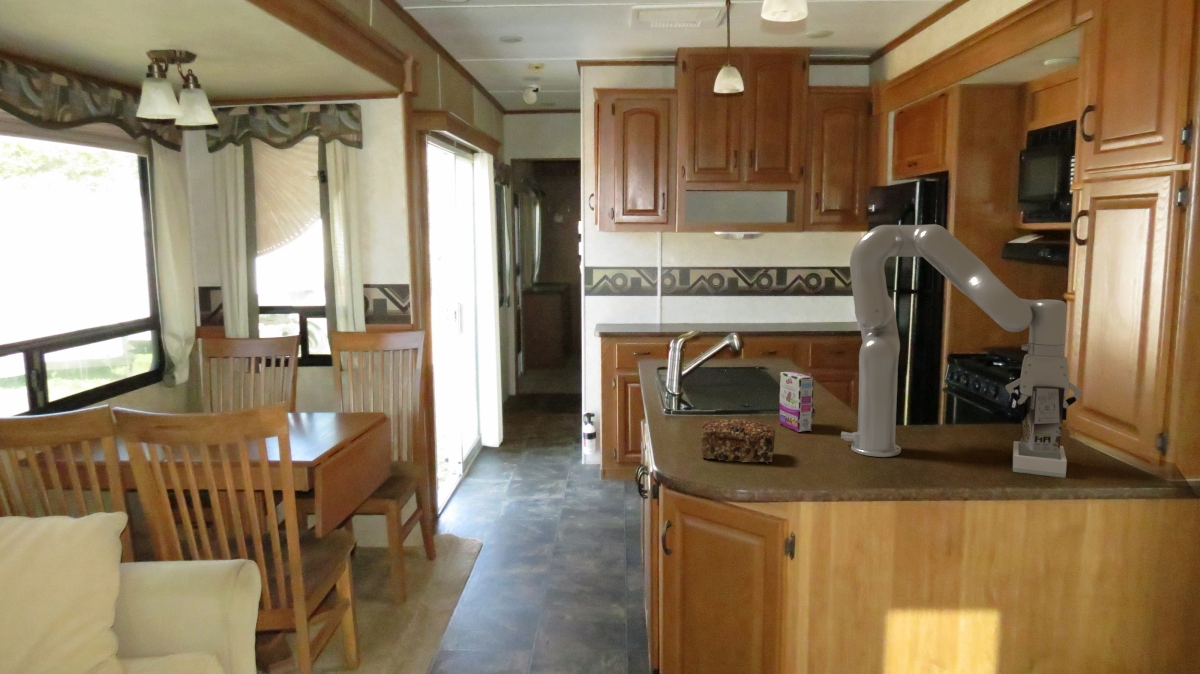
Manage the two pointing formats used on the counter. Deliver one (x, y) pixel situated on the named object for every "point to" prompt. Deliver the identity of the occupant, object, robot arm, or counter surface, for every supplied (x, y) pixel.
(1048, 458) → the holder
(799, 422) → the candy bar box
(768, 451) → the bread
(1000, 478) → the counter surface
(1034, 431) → the coffee box
